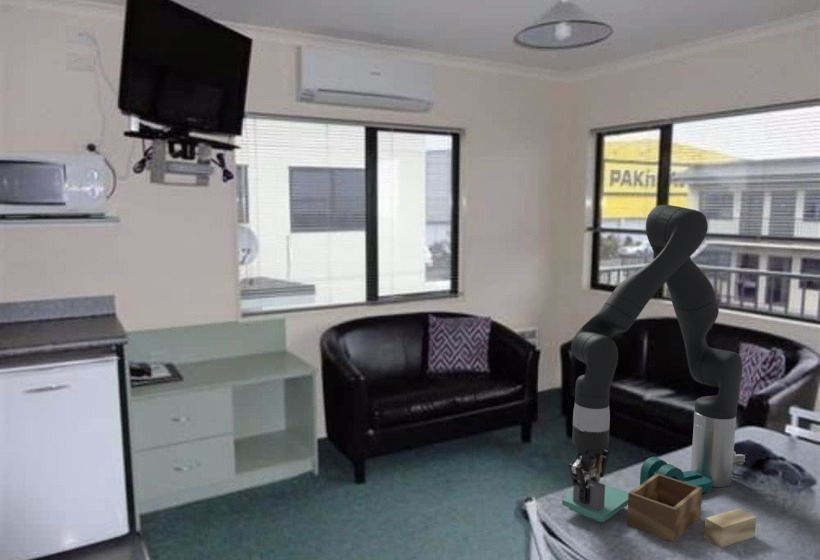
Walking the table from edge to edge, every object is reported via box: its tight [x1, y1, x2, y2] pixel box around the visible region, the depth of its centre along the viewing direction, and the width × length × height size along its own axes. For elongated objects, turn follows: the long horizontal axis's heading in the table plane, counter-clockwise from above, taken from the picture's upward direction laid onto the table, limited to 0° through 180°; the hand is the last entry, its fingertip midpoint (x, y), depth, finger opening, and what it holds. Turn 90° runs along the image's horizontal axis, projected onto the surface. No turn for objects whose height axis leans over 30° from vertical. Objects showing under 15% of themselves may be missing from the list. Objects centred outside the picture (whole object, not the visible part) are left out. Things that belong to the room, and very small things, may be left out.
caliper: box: [732, 451, 746, 475], centre depth 158 cm, size 20×1×6 cm, turn 124°
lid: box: [561, 477, 629, 523], centre depth 134 cm, size 14×10×7 cm
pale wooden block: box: [703, 507, 757, 548], centre depth 124 cm, size 4×10×4 cm, turn 114°
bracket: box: [639, 456, 713, 494], centre depth 144 cm, size 18×7×8 cm, turn 112°
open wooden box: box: [626, 473, 703, 543], centre depth 130 cm, size 14×10×7 cm
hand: (587, 500), depth 131 cm, fingers closed on lid, 2 cm apart
